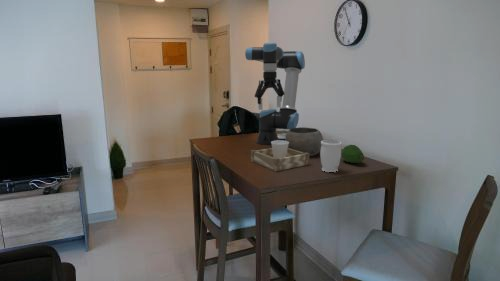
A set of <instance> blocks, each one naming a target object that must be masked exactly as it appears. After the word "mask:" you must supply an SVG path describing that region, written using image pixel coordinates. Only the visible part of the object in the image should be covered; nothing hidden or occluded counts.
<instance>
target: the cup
mask: <svg viewBox="0 0 500 281" xmlns="http://www.w3.org/2000/svg"><path fill="white" fill-rule="evenodd" d="M271 144H272V145H271V148H272V150H273V157H274V158H284V157H286V154H287V149H288V144H289V142H288V141H285V140H279V139H278V140H277V141H272V142H271Z"/></svg>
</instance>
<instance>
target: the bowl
mask: <svg viewBox="0 0 500 281" xmlns="http://www.w3.org/2000/svg"><path fill="white" fill-rule="evenodd" d="M284 141H288V142H289V144H288V148H290V149H293V150H297V151H300V152H303V153H306V152H307V153H310V154H309V158H310V157H314V156H317V155H318V154H320V150H321V146H322V144H321V141H324V137H323V134H322V132H321V131H320V130H319V129H318V128H313V127H296V128H292V129H289V130H288V131H287V132H286V134H285V140H284Z"/></svg>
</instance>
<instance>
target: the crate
mask: <svg viewBox="0 0 500 281" xmlns="http://www.w3.org/2000/svg"><path fill="white" fill-rule="evenodd" d="M309 154H310V153H307V152H306V153H303V152H300V151H297V150H293V149H290V148H288V149H287V154H286V157H284V158H274V157H273V150H272V147H271V148H263V149H257V150H256V149H251V150H250V163H255V164H256V165H260V166H262V167H264V168H267V169H269V170H272V171H274V172H276V171H277V172H280V171H284V170H289V169H293V168H297V167H303V166H309V165H310V157H309Z"/></svg>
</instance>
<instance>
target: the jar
mask: <svg viewBox="0 0 500 281" xmlns="http://www.w3.org/2000/svg"><path fill="white" fill-rule="evenodd" d="M342 143H343V142H341V141H340V140H335V139H334V140H332V139H326V140H325V139H323V141H321V144H322V146H321V150H320V152H319V156H320V164H321V166H322V167H321V171H323V172H324V171H325V172H324V173H329V172H334V173H337V172H338V171H339V169H338V168H339V166H340V163H341V158H342V155H341V152H342V147H341V146H342ZM336 171H337V172H336Z"/></svg>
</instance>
